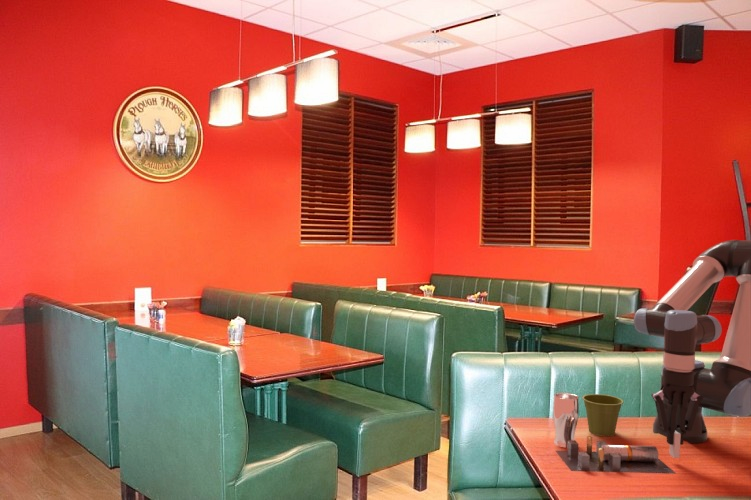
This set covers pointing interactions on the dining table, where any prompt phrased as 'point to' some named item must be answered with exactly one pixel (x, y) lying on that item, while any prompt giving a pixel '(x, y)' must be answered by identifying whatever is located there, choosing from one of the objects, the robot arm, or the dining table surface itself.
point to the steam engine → (598, 464)
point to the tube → (632, 452)
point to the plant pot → (602, 413)
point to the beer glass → (565, 418)
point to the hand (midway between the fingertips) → (674, 456)
